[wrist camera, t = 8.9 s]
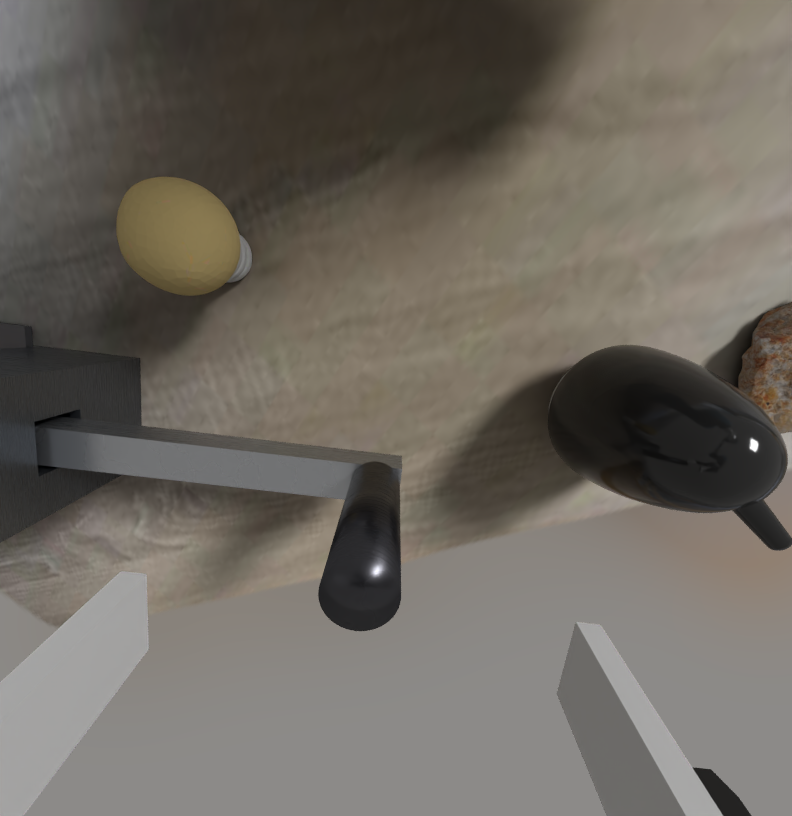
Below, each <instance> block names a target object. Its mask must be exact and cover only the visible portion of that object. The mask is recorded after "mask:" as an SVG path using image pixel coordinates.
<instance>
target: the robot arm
mask: <svg viewBox="0 0 792 816" xmlns="http://www.w3.org/2000/svg"><path fill="white" fill-rule="evenodd" d="M148 642H149V640H148V608H147V575H146V574H143V573H134V572H125V571H120V572H119V573H118V574H117V575H116V576H115V577H114V578H113V579H112V580H111V581H110V582H108V583H107V584H106V585H105V586H104V587H103V588H102V589H101V590H100V591H99V592H98V593H96V594H95V595H94V596H93V597H92V598H91V599H90V600H89V601H88V602H87V603H86V604H84V605H83V606H82V607H81V608H80V609H79V610H78V611H77V612H76V613H75V614H74V615H73V616H71V617H70V618H69V619H68V620H67V621H66V622H65V623H64V624H63V625H62V626H61V627H59V628H58V629H57V630H56V631H55V632H54V633H53V634H52V635H51V636H50V637H49V638H47V639H46V640H45V641H44V642H43V643H42V644H41V645H40V646H39V647H38V648H37V649H36V650H34V651H33V652H32V653H31V654H30V655H29V656H28V657H27V658H26V659H25V660H23V661H22V662H21V663H20V664H19V665H18V666H17V667H16V668H15V669H14V670H13V671H11V672H10V673H9V674H8V675H7V676H6V677H5V678H4V679H3V680H2V681H1V682H0V816H24V814H25V813H26V812H27V811H28V809H29V808H30V807H31V805H32V804H33V803H34V801H35V800H36V799H37V797H38V796H39V795H40V793H41V792H42V790H43V789H44V788H45V787H46V785H47V784H48V783H49V781H50V780H51V779H52V777H53V776H54V775H55V773H56V772H57V771H58V769H59V768H60V766H61V765H62V764H63V763H64V761H65V760H66V758H67V757H68V756H69V755H70V753H71V752H72V751H73V749H74V748H75V747H76V745H77V744H78V743H79V741H80V740H81V739H82V737H83V736H84V735H85V733H86V732H87V731H88V729H89V728H90V727H91V725H92V724H93V723H94V722H95V720H96V719H97V717H98V716H99V715H100V714H101V712H102V711H103V709H104V708H105V707H106V706H107V704H108V703H109V702H110V700H111V699H112V698H113V696H114V695H115V694H116V692H117V691H118V690H119V688H120V687H121V686H122V684H123V683H124V682H125V680H126V679H127V678H128V676H129V675H130V674H131V672H132V671H133V670H134V668H135V667H136V666H137V664H138V663H139V662H140V660H141V659H142V658H143V656H144V655H145V654H146V652H147V651H148V650H149V643H148ZM557 695H558V698H559V700H560V703H561V705H562V708H563V710H564V713H565V715H566V717H567V720H568V722H569V725H570V727H571V730H572V732H573V735H574V737H575V739H576V742H577V744H578V747H579V749H580V752H581V754H582V757H583V759H584V761H585V764H586V766H587V769H588V771H589V774H590V776H591V778H592V781H593V783H594V786H595V788H596V791H597V793H598V795H599V798H600V801H601V803H602V805H603V808H604V810H605V813H606V815H607V816H751V815H750V813H749V812H748V810H747V809H746V807H745V806H744V805H743V803H742V802H741V800H740V799H739V797H738V796H737V795H736V794H735V793H734V792H733V791H732V790H731V789H729V787H728V786H727V785H726V784H725V783H724V782H723V781H722V780H721V779H720V778H719V777H718V776H717V775H716V774H715V773H714V772H713V771H712V770H711V769H702V768H693V767H692V766H691V765H690V763H689V762H688V760H687V759H686V757H685V756H684V754H683V753H682V751H681V749H680V748H679V746H678V745H677V743H676V742H675V740H674V739H673V737H672V735H671V734H670V732H669V731H668V729H667V727H666V726H665V724H664V723H663V721H662V720H661V718H660V717H659V715H658V713H657V712H656V710H655V709H654V707H653V706H652V704H651V703H650V701H649V700H648V698H647V696H646V695H645V693H644V692H643V690H642V689H641V687H640V685H639V684H638V682H637V681H636V679H635V678H634V676H633V675H632V673H631V672H630V670H629V668H628V667H627V665H626V664H625V662H624V660H623V659H622V657H621V656H620V654H619V653H618V651H617V650H616V648H615V646H614V645H613V643H612V642H611V640H610V639H609V637H608V636H607V634H606V632H605V631H604V629H603V628H602V626H601V625H599V624H590V623H581V622H576V624H575V627H574V631H573V635H572V638H571V642H570V646H569V650H568V653H567V657H566V661H565V665H564V669H563V672H562V676H561V680H560V684H559V687H558V691H557Z"/></svg>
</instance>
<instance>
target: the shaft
mask: <svg viewBox="0 0 792 816" xmlns="http://www.w3.org/2000/svg"><path fill="white" fill-rule="evenodd" d="M34 425H35V437H36V450H37V463H38V465H43V466H52V467H61V468H69V469H78V470H87V471H96V472H105V473H114V474H123V475H132V476H140V477H149V478H158V479H167V480H176V481H185V482H194V483H202V484H211V485H220V486H229V487H238V488H247V489H256V490H265V491H273V492H282V493H291V494H300V495H309V496H318V497H327V498H335V499H344V500H345V502H344V505H343V508H342V512H341V515H340V518H339V522H338V525H337V529H336V532H335V535H334V539H333V542H332V545H331V549H330V552H329V556H328V559H327V562H326V566H325V569H324V572H323V576H322V579H321V583H320V586H319V602H320V605H321V608H322V610H323V611H324V613H325V614H326V616H327V617H328V618H330V620H331V621H333V622H334V623H336V624H337V625H339V626H341V627H343V628H346V629H349V630H354V631H367V630H372V629H376V628H378V627H380V626H382V625H384V624H385V623H387V622H388V621H389V620H390V619H391V618H392V617H393V616H394V615H395V613H396V612H397V610H398V608H399V605H400V601H401V552H400V481H401V473H402V456H399V455H390V454H381V453H373V452H364V451H355V450H347V449H338V448H329V447H321V446H312V445H303V444H295V443H286V442H277V441H269V440H260V439H251V438H243V437H234V436H225V435H217V434H208V433H199V432H191V431H182V430H173V429H165V428H156V427H147V426H139V425H130V424H121V423H113V422H104V421H95V420H87V419H78V418H69V417H61V416H53V417H50V418H46V419H42V420H39V421H35V422H34Z"/></svg>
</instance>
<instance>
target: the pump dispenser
mask: <svg viewBox="0 0 792 816" xmlns="http://www.w3.org/2000/svg"><path fill="white" fill-rule="evenodd" d="M548 428H549V434H550V438H551V441H552V444H553V446H554V448H555V450H556V452H557V453H558V455H559V456H560V458H561V459H562V460H563V461H564V462H565V463H566V464H567V465H568V466H569V467H570V468H571V469H572V470H574V471H575V472H576V473H578V474H579V475H581V476H582V477H584V478H585V479H587V480H589V481H591V482H593V483H595V484H597V485H599V486H601V487H603V488H605V489H607V490H609V491H611V492H614V493H616V494H619V495H621V496H624V497H627V498H629V499H632V500H636V501H639V502H642V503H646V504H649V505H653V506H658V507H662V508H667V509H672V510H678V511H685V512H695V513H718V512H726V511H731V510H732V511H734V513H735V514H737V516H738V517H739V518H740V519H741V520H742V521H743V522H744V523H745V524H746V525H747V526H748V527H749V528H750V529H751V530H752V531H753V532H754V533H755V534H756V535H757V536H758V537H759V538H760V539H761V541H763V543H764V544H765V545H766V546H767V547H768V548H770V549H772V550H785V549H787V548H789V547H790V546H791V545H792V538H791V537H790V535H789V534H788V532H787V531H786V530H785V528H784V527H783V526H782V524H781V523H780V522H779V520H778V519H777V517H776V516H775V515H774V513H773V512H772V511H771V509H770V508H769V507H768V505H767V504H766V502H765V501H764V499H765V498H766V497H768V496H769V495H770V494H771V493H772V492H773V491H774V490H775V489H776V488H777V487H778V485H779V484H780V483H781V481H782V479H783V478H784V475H785V473H786V470H787V464H788V454H787V449H786V445H785V442H784V440H783V438H782V435H781V434H780V432H779V430H778V428H777V427H776V425H775V424H774V422H773V421H772V420H771V418H770V417H769V416H768V415H767V414H766V412H765V411H764V410H763V409H762V408H761V407H760V406H759V405H758V404H757V403H755V402H754V401H753V400H752V399H751V398H750V397H748V396H747V395H746V394H745V393H743V392H742V391H741V390H739V389H738V388H736V387H735V386H733V385H732V384H730V383H729V382H727V381H726V380H724V379H723V378H721V377H719V376H718V375H716V374H714V373H713V372H711V371H709V370H707V369H706V368H704V367H702V366H700V365H698V364H696V363H694V362H692V361H689V360H687V359H685V358H682V357H679V356H677V355H674V354H671V353H668V352H666V351H662V350H659V349H655V348H651V347H646V346H639V345H618V346H612V347H608V348H604V349H601V350H599V351H596V352H594V353H592V354H590V355H588V356H586V357H585V358H583V359H582V360H580V361H579V362H578V363H577V364H575V365H574V366H573V367H572V368H571V369H570V370H569V371H568V372H567V373H566V374H565V375H564V376H563V377H562V378H561V380H560V381H559V383H558V384H557V386H556V388H555V390H554V392H553V394H552V397H551V400H550V404H549V412H548Z"/></svg>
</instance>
